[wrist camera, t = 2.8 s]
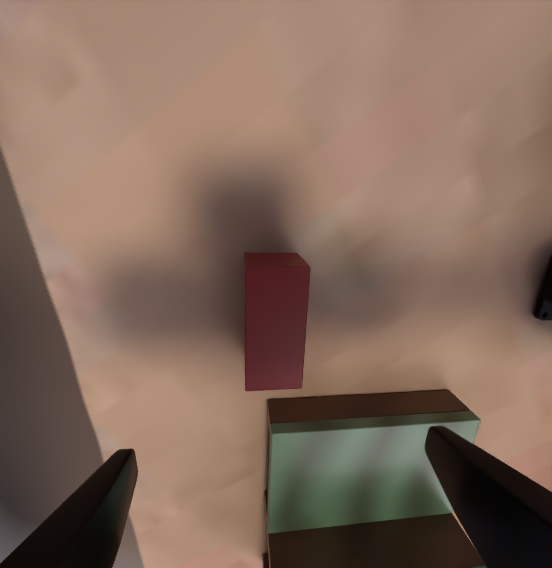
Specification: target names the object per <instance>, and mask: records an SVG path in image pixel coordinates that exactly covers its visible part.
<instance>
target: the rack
mask: <svg viewBox="0 0 552 568" xmlns="http://www.w3.org/2000/svg"><path fill="white" fill-rule="evenodd" d="M267 416H268V425H269V434H270V445H269V476H268V490H265V496H264V501H265V515H266V528H267V542H268V554H264V555H263V568H487V567H486V565H485V564H484V562H483V560H482V559H481V557H480V555H479V554H478V552H477V551H476V549H475V548H474V546H473V545H472V543H471V542H470V540H469V539H468V537H467V536H466V534H465V533H464V531H463V530H462V528H461V526H460V525H459V523H458V522H457V520H456V519H455V517H454V516H453V514H452V511H453V508H452V506H451V505H450V503H449V501H448V499H447V497H446V495H445V492H444V490H443V488H442V486H441V484H440V482H439V480H438V478H437V476H436V474H435V472H434V470H433V468H432V465H431V463H430V461H429V459H428V457H427V455H426V452H425V441H426V437H427V433H428V429H429V427H430V426H438V425H442V426H445V427H447V428H448V429H450V430H451V431H453V432H455V433H456V434H458V435H460V436H461V437H463V438H464V439H466V440H468V441H469V442H471V443H473V444H474V440H475V437H476V434H477V431H478V428H479V424H480V421H481V420H480V419H479V418H478V417H477V416H476V415H475V414H474V413H473V412H472V411H470V409H469V408H467V407H466V406H465V405H464V404H463V403H462V402H461V401H460V400H459V399H458V398H457V397H456V396H455V395H454V394H453V393H451V392H450V391H449V390H439V391H420V392H402V393H383V394H365V395H346V396H328V397H309V398H291V399H272V400H267Z"/></svg>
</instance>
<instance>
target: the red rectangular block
mask: <svg viewBox="0 0 552 568" xmlns="http://www.w3.org/2000/svg"><path fill="white" fill-rule="evenodd" d="M309 282H310V266H309V265H308V264H307V263H306V262H305V261H304V260H303V259H302V258H301V257H300V256H299V255H298V254H297V253H254V252H246V253H245V390H246V391H260V390H280V389H300V388H302V380H303V366H304V352H305V338H306V324H307V310H308V296H309Z"/></svg>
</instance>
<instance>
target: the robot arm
mask: <svg viewBox="0 0 552 568" xmlns="http://www.w3.org/2000/svg"><path fill="white" fill-rule="evenodd" d="M534 316H535V318H537V319H539V320H543V321H545V320H552V262H551V265H550V268H549V271H548V274H547V277H546V280H545V283H544V286H543V289H542V292H541V295H540V298H539V301H538V304H537V307H536V310H535V313H534ZM425 452H426V455H427V457H428V459H429V461H430V463H431V465H432V468H433V470H434V472H435V474H436V476H437V478H438V480H439V482H440V484H441V486H442V488H443V490H444V492H445V495H446V497H447V499H448V501H449V503H450V505H451V506H452V508H453V510H454V512H455V514H456V516H457V517H458V519H459V521H460V523H461V524H462V526H463V528H464V529H465V531H466V533H467V535H468V536H469V538H470V540H471V541H472V543H473V545H474V547H475V548H476V550H477V552H478V553H479V555H480V557H481V559H482V560H483V562H484V564H485V565H486V567H487V568H552V492H551V491H549V490H547V489H546V488H544V487H543V486H541V485H539V484H538V483H536V482H534V481H533V480H531V479H530V478H528V477H526V476H525V475H523V474H521V473H520V472H518V471H517V470H515V469H513V468H512V467H510V466H508V465H507V464H505V463H504V462H502V461H500V460H499V459H497V458H495V457H494V456H492V455H491V454H489V453H487V452H486V451H484V450H482V449H481V448H479V447H478V446H476V445H474V444H473V443H471V442H469V441H468V440H466V439H464V438H463V437H461V436H460V435H458V434H456V433H455V432H453V431H451V430H450V429H448V428H447V427H445V426H442V425H438V426H430V427H429V429H428V433H427V437H426V441H425ZM137 476H138V468H137V462H136V456H135V451H134V449H120V450H118V451H116V452H115V453H114V454H113V455H112V456H111V457H110V458H109V459H108V460H107V461H106V462H105V463H104V464H103V465H102V466H100V468H98V469H97V470H96V471H95V472H94V473H93V474H92V475H91V476H90V477H89V478H88V479H87V480H86V481H85V482H84V483H83V484H82V485H81V486H80V487H79V488H78V489H77V490H76V491H75V492H74V493H73V494H72V495H71V496H70V497H69V498H68V499H67V500H66V501H64V502H63V503H62V504H61V505H60V506H59V507H58V508H57V509H56V510H55V511H54V512H53V513H52V514H51V515H50V516H49V517H48V518H47V519H46V520H45V521H44V522H43V523H42V524H41V525H40V526H39V527H38V528H37V529H36V530H35V531H34V532H32V533H31V534H30V535H29V536H28V537H27V538H26V539H25V540H24V541H23V542H22V543H21V544H20V545H19V546H18V547H17V548H16V549H15V550H14V551H13V552H12V553H11V554H10V555H9V556H8V557H7V558H6V559H5V560H4V561H3V562H2V563H0V568H112V567H113V564H114V561H115V559H116V556H117V552H118V549H119V546H120V543H121V539H122V535H123V532H124V528H125V524H126V520H127V516H128V512H129V509H130V505H131V501H132V497H133V493H134V489H135V485H136V481H137Z"/></svg>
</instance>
